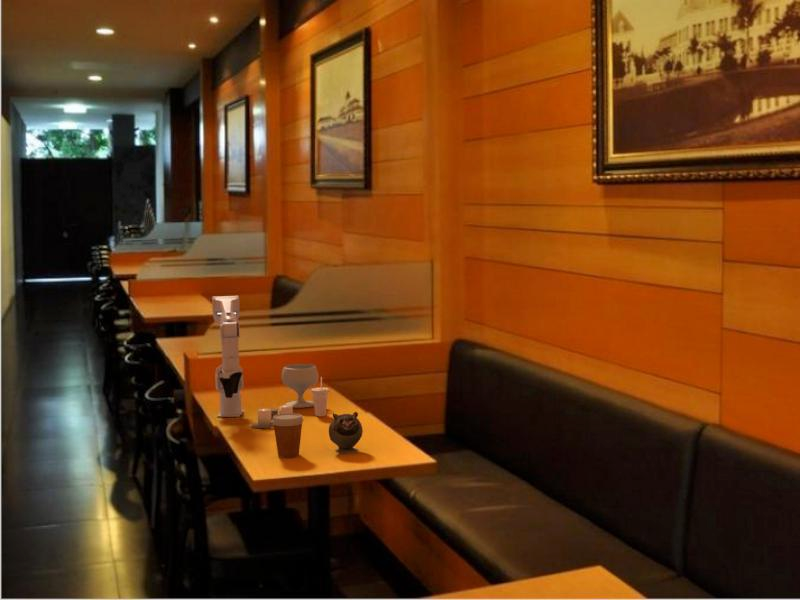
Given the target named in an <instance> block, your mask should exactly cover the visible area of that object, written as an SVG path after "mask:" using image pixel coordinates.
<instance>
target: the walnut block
mask: <svg viewBox="0 0 800 600" xmlns="http://www.w3.org/2000/svg"><path fill="white" fill-rule="evenodd" d="M269 409H271V421H272V420H273V416H274V415H277V414H279V413H278V412H279V410H278V409H279V408H277V407H276V408H269Z"/></svg>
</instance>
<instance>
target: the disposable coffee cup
mask: <svg viewBox="0 0 800 600" xmlns="http://www.w3.org/2000/svg"><path fill="white" fill-rule="evenodd" d="M272 422H273V424H274V428H273V429H274V435H275V442H276V443H275V444H276V450H277V451H276V452H277V456H278V457H281V458H296V457H299V456H300V447H301V438H302V427H303V423H304V418H303V415H302V414H300V413H283V414H280V413H278V414H277V415H274V416H273V420H272Z"/></svg>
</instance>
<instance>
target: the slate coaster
mask: <svg viewBox="0 0 800 600" xmlns="http://www.w3.org/2000/svg"><path fill="white" fill-rule="evenodd" d="M251 427H252V428H253V427H255V428H254V429H257V428H268V429H272V428H271V427H274V424H273V422H272V424H271V425H268V426H260V425H258V421H257V422H254V423H252V424H251Z"/></svg>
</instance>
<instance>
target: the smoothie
mask: <svg viewBox="0 0 800 600" xmlns="http://www.w3.org/2000/svg"><path fill="white" fill-rule="evenodd" d="M319 378H320V387H313V388H310V393H311V394H312V395H311V396H312V401H313V403H314V406H313V408H314V409H313V410H314V415H316V416H315V417H317V416H323V417H326V416H327V406H328V398H329V397H328V396H329V395H328V394H329V392H330V389H329V388H328V387H323V376H320V377H319ZM325 415H326V416H325Z"/></svg>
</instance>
